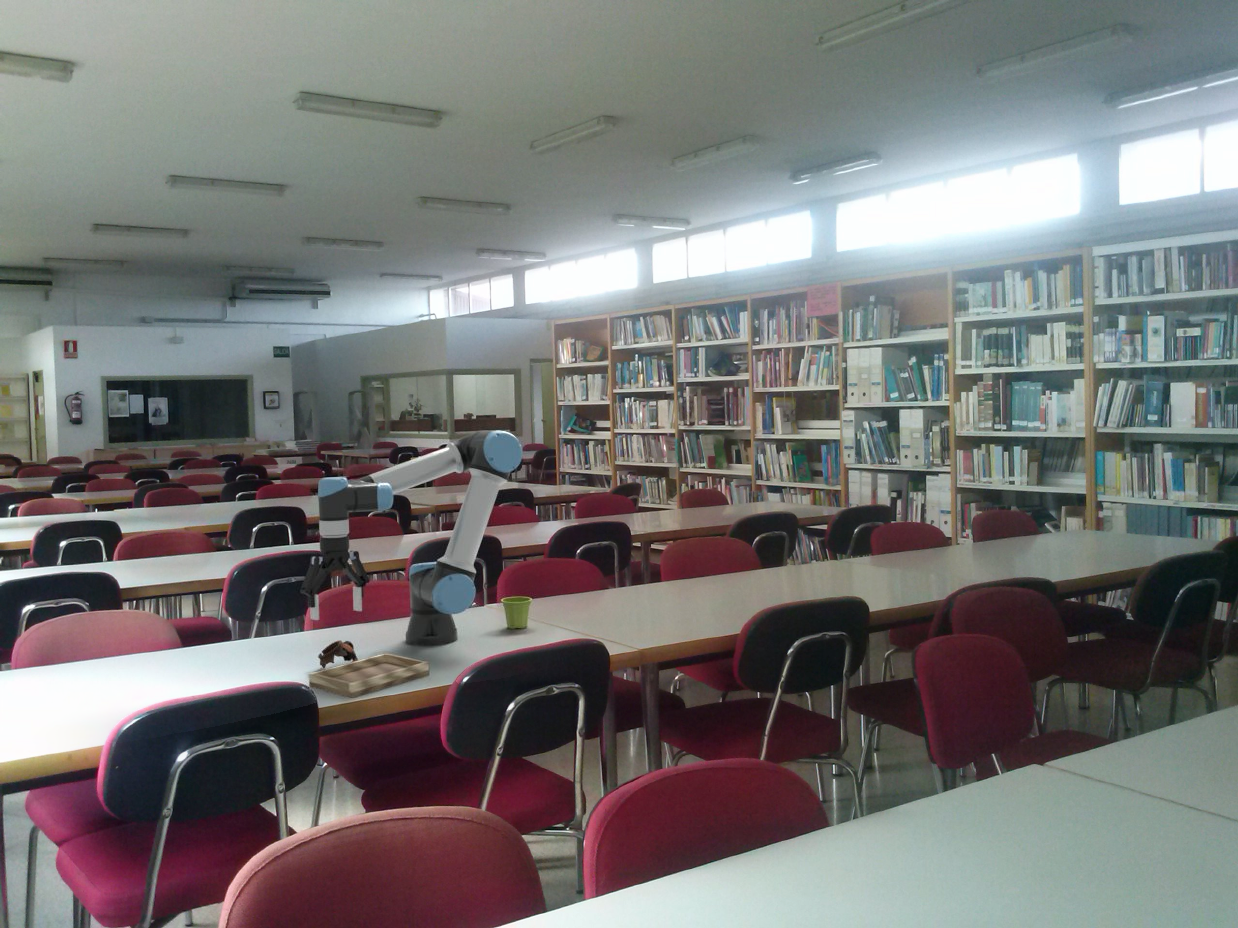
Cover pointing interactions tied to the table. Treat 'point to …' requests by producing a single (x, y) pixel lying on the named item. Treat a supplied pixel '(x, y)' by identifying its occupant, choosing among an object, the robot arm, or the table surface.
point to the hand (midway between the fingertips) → (336, 614)
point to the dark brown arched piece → (337, 652)
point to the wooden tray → (368, 674)
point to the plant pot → (516, 611)
